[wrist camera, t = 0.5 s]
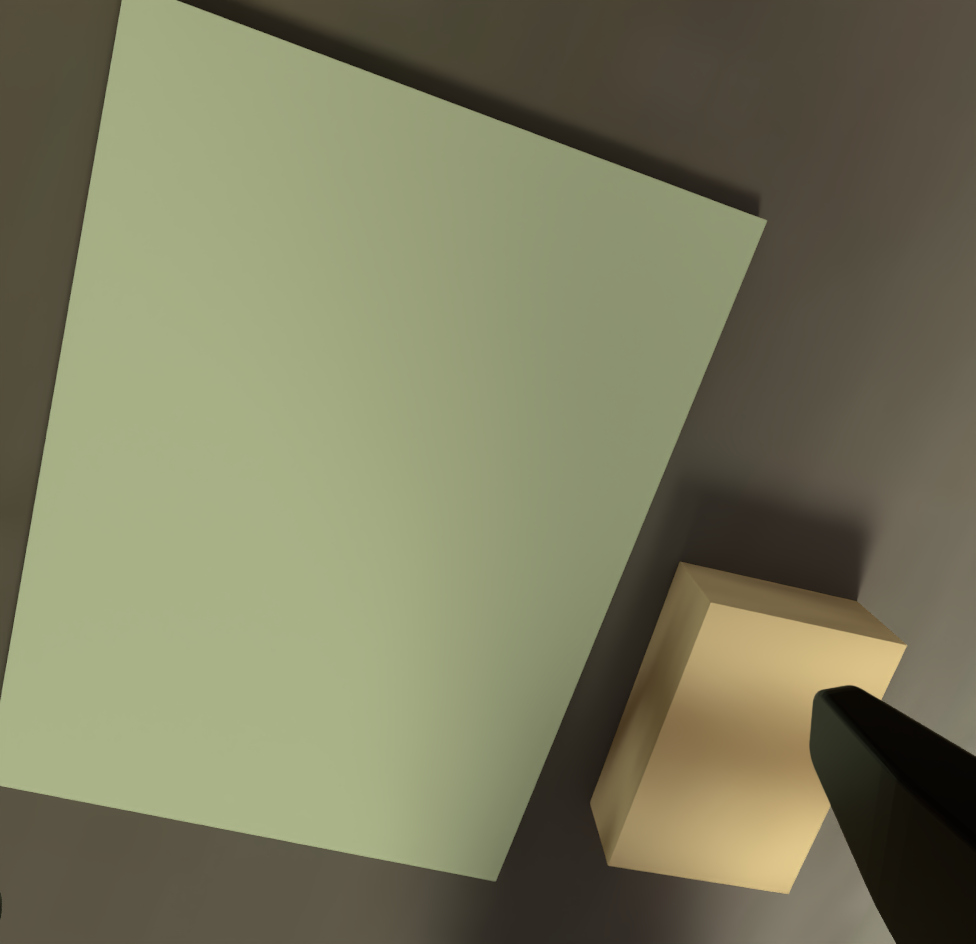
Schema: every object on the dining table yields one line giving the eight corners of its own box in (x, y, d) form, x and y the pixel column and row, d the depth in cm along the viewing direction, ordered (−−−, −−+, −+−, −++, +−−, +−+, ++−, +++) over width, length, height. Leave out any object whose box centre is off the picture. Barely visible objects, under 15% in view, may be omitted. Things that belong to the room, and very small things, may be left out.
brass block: (749, 823, 27) (788, 894, 24) (587, 795, 26) (608, 865, 23) (850, 596, 25) (907, 645, 22) (675, 556, 24) (710, 602, 21)
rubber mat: (494, 869, 26) (495, 881, 26) (-6, 771, 24) (-14, 782, 23) (759, 220, 20) (767, 220, 20) (132, -13, 18) (125, -19, 17)
